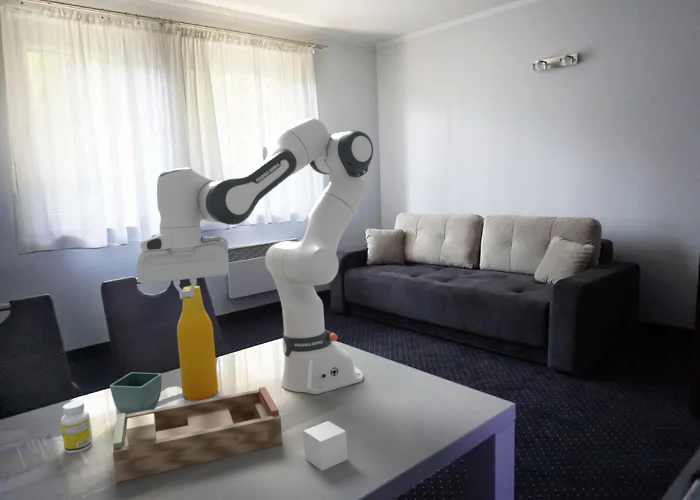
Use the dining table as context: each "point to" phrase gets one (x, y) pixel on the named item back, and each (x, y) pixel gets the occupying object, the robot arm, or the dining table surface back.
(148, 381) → the flower pot
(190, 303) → the beer bottle
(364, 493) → the dining table surface
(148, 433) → the ash block
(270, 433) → the tray
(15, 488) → the dining table surface
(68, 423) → the supplement bottle
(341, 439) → the white cube
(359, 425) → the dining table surface
